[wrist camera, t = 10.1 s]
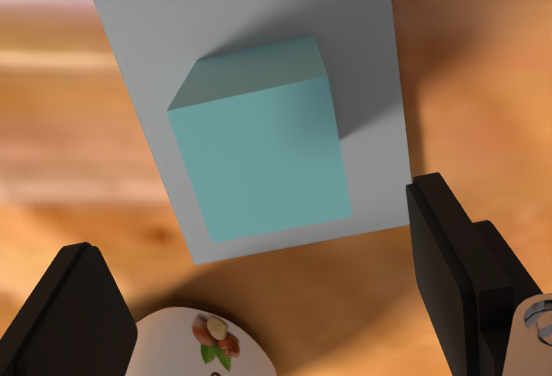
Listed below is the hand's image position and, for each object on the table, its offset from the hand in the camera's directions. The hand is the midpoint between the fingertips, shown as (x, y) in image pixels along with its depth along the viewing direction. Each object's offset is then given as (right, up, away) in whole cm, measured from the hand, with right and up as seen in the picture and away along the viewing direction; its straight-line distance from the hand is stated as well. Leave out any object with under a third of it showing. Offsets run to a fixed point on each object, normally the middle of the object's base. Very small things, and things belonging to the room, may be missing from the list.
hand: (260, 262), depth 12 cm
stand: (0, +6, +11) cm, 13 cm away
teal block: (0, +6, +10) cm, 12 cm away
